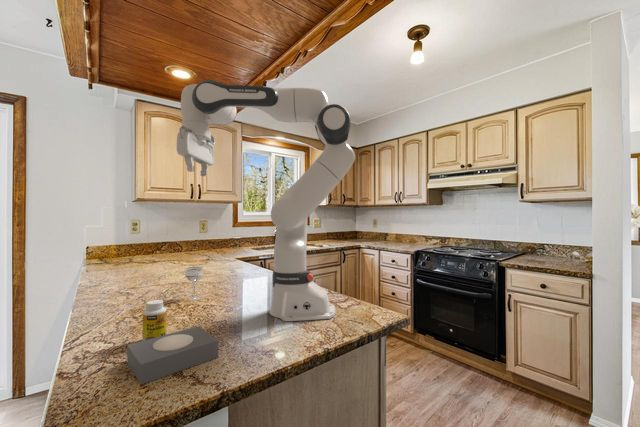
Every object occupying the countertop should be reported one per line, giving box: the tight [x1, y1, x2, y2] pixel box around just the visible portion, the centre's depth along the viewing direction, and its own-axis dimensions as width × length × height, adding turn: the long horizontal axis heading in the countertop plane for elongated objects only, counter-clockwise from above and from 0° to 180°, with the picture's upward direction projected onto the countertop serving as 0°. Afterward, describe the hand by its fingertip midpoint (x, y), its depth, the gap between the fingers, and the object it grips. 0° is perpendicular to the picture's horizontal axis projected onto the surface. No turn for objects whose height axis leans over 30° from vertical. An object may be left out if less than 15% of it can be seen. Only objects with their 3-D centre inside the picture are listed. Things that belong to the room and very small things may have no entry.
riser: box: [126, 325, 219, 385], centre depth 69 cm, size 16×12×4 cm
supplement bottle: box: [142, 299, 167, 341], centre depth 80 cm, size 6×6×10 cm
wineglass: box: [184, 266, 204, 301], centre depth 118 cm, size 7×7×12 cm
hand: (197, 173), depth 101 cm, fingers open, 8 cm apart
